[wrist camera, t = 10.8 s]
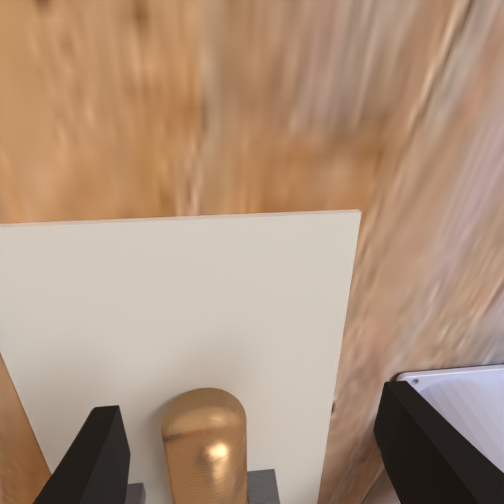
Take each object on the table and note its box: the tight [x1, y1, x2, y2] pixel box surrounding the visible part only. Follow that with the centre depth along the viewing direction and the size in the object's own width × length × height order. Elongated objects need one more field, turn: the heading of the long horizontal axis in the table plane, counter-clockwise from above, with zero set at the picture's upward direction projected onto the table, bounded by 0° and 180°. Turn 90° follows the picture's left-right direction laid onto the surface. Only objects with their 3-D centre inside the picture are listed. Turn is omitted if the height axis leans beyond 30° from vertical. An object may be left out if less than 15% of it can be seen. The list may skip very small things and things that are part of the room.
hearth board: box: [0, 209, 361, 504], centre depth 24 cm, size 18×28×1 cm, turn 0°
